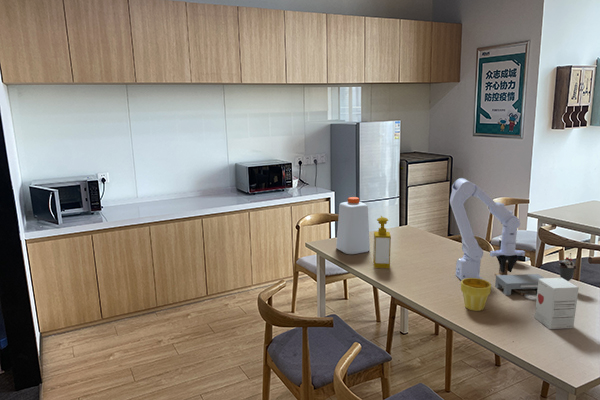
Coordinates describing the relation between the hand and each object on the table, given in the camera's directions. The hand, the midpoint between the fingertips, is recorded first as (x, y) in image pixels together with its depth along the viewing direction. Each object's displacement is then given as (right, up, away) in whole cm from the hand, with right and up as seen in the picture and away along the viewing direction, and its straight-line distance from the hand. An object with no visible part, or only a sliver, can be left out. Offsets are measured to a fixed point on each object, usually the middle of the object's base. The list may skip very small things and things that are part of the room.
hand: (505, 271), depth 197 cm
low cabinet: (+1, -6, -13) cm, 14 cm away
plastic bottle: (-62, +5, +41) cm, 75 cm away
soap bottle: (-51, 0, +20) cm, 55 cm away
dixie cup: (+10, +2, +22) cm, 24 cm away
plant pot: (-25, -9, -28) cm, 38 cm away
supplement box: (-2, -12, -40) cm, 42 cm away
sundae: (+19, -5, -12) cm, 23 cm away
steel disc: (+1, -7, -20) cm, 21 cm away
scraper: (0, -4, -7) cm, 8 cm away
